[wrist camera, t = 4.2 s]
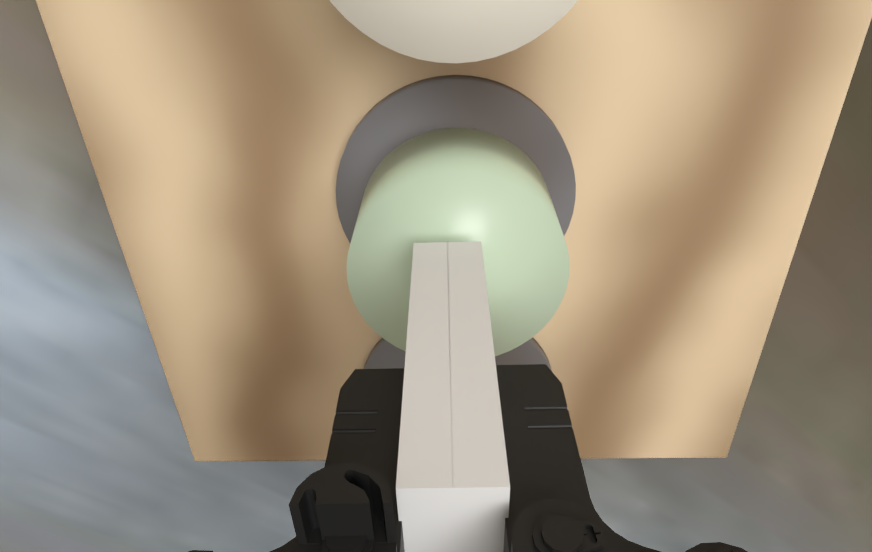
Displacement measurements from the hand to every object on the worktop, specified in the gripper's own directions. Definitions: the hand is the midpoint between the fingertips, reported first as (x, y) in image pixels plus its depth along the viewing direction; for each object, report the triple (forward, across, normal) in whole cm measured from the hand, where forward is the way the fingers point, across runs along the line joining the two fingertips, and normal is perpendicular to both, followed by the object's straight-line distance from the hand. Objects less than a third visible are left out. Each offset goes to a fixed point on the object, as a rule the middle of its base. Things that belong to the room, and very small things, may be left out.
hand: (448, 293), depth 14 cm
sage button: (+4, 0, 0) cm, 4 cm away
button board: (+8, 0, 0) cm, 8 cm away
